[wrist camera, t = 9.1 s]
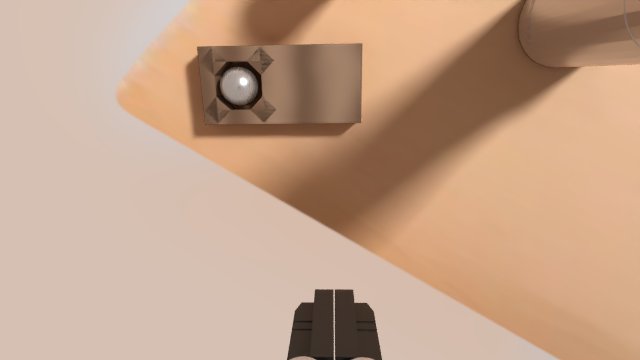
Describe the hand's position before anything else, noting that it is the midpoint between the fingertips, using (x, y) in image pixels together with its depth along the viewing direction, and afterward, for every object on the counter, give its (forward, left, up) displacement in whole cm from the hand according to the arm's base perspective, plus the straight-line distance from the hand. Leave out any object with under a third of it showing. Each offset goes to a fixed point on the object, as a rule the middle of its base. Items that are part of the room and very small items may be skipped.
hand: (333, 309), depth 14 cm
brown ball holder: (+5, -8, -29) cm, 31 cm away
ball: (+10, -8, -27) cm, 30 cm away
